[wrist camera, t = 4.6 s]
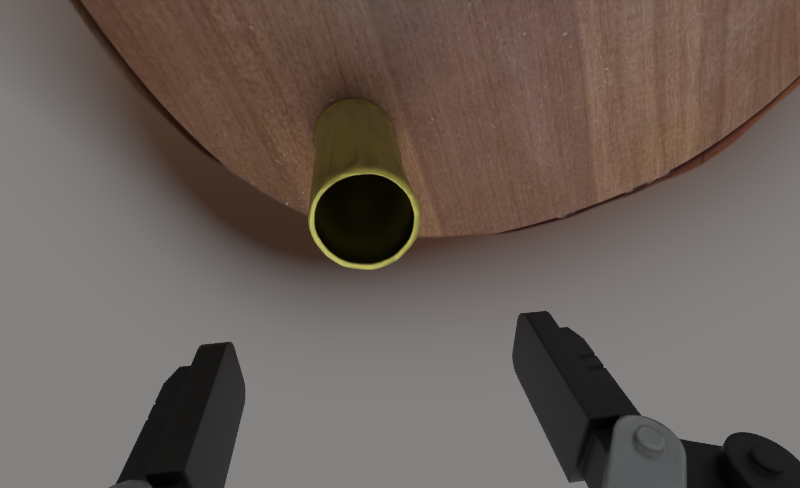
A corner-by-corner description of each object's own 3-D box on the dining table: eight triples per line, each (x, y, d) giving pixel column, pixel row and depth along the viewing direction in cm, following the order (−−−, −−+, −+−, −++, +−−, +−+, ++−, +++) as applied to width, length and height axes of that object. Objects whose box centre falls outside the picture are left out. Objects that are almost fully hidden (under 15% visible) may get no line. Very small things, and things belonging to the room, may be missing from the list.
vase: (360, 193, 33) (373, 298, 21) (296, 145, 31) (269, 232, 18) (410, 135, 32) (457, 213, 19) (348, 79, 29) (355, 127, 17)
